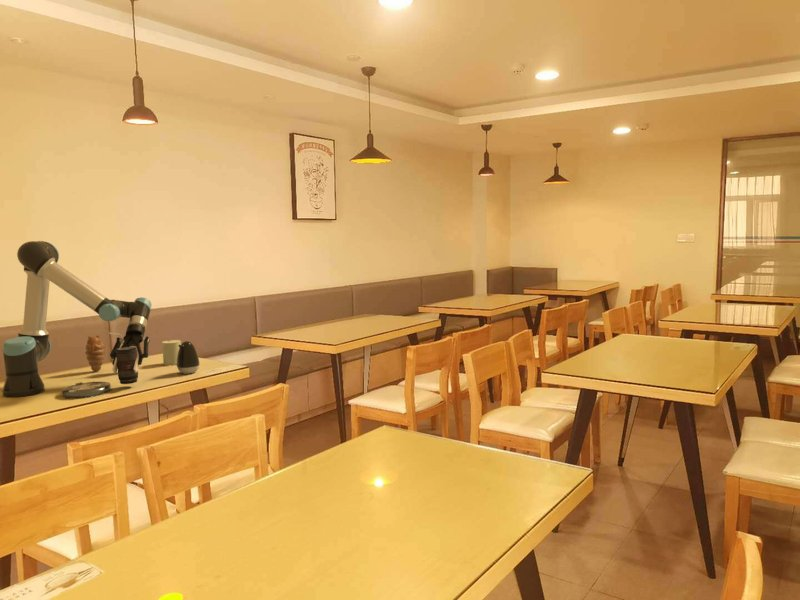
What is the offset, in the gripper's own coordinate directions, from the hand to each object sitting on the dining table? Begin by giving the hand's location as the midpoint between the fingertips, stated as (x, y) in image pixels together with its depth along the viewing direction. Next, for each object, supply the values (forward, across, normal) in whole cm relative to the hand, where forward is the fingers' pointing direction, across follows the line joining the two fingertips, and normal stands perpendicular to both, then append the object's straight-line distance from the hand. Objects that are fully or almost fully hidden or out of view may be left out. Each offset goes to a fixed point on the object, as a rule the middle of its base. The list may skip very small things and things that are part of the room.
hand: (124, 371), depth 252 cm
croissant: (-22, +30, -34) cm, 50 cm away
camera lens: (+2, 0, -6) cm, 7 cm away
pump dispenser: (-13, -18, -25) cm, 34 cm away
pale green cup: (-30, -4, -42) cm, 52 cm away
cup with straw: (-19, +15, -30) cm, 38 cm away
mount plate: (+8, +15, -4) cm, 17 cm away
